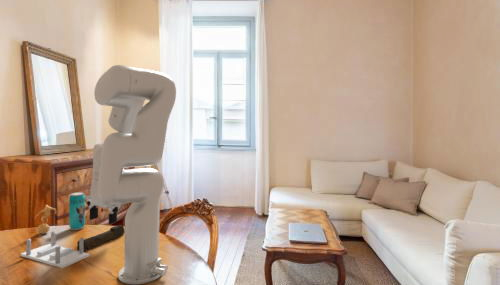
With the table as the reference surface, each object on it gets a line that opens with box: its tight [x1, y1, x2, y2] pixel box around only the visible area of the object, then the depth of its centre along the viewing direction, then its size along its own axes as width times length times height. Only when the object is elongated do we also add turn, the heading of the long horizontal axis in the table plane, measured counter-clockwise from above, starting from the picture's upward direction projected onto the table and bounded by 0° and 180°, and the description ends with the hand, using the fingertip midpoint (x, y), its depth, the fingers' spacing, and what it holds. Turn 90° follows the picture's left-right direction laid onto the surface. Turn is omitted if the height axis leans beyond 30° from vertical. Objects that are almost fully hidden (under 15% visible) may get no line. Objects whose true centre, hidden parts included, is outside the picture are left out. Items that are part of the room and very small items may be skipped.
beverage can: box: [68, 191, 86, 231], centre depth 120 cm, size 6×6×15 cm
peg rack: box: [20, 231, 90, 269], centre depth 94 cm, size 20×9×6 cm, turn 69°
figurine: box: [33, 204, 58, 235], centre depth 113 cm, size 8×6×12 cm
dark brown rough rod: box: [76, 224, 125, 252], centre depth 107 cm, size 19×4×5 cm, turn 154°
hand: (103, 220), depth 107 cm, fingers open, 9 cm apart
